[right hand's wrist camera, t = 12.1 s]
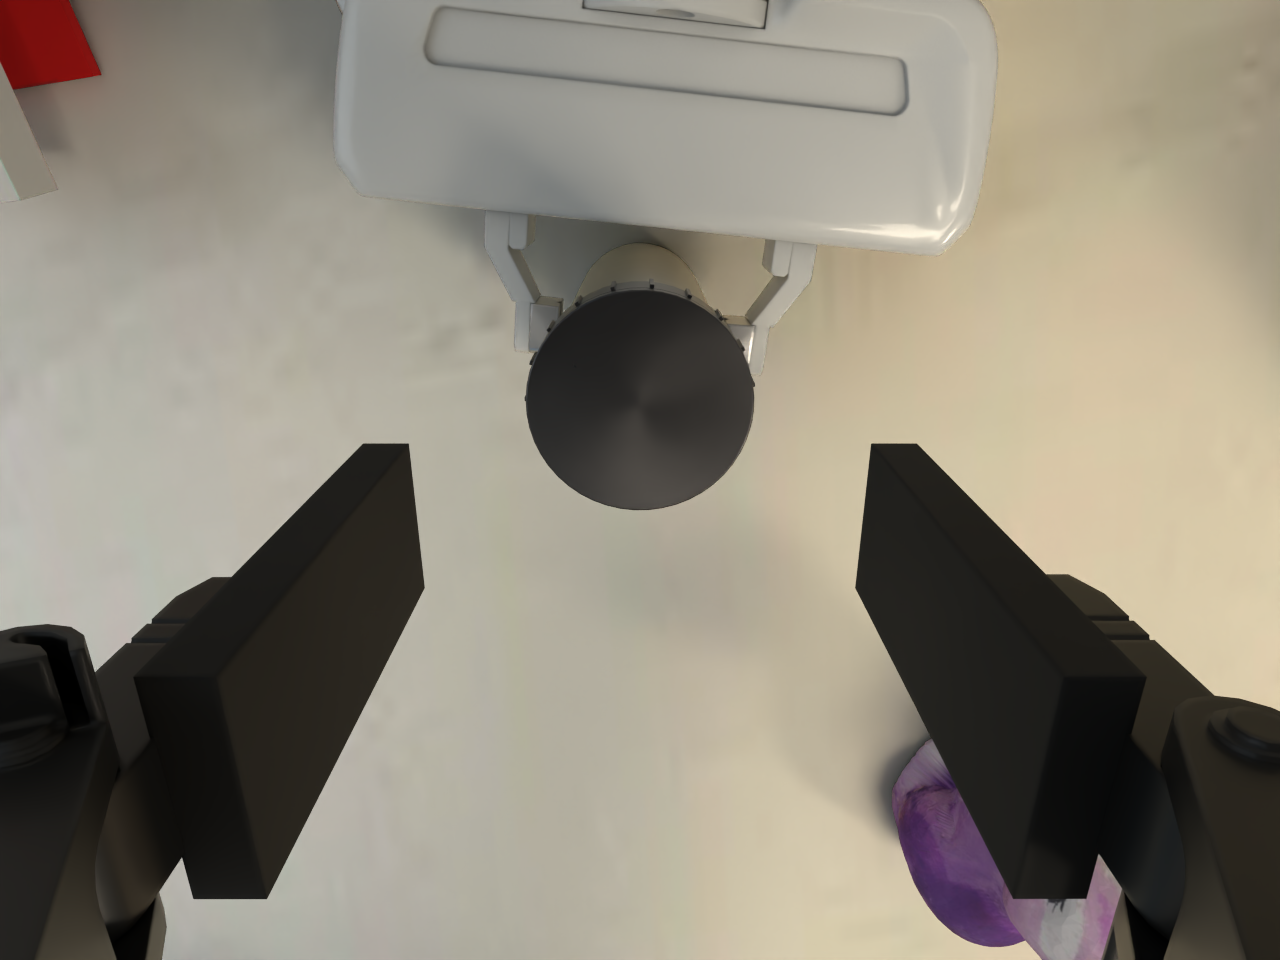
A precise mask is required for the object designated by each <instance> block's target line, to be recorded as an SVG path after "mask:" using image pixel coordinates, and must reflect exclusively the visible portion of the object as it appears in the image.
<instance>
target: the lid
mask: <svg viewBox="0 0 1280 960" xmlns="http://www.w3.org/2000/svg"><path fill="white" fill-rule="evenodd" d="M546 331H547V332H548V333H547V335H546V337H545V338H544V340H543V342H542V344H541V346H540V348H539V350H538V352H535V353H534V355H533V357H532V359H531V361H530V365H532V366H531V369H530V372H529V377H528V382H527V389H526V396H525V401H526V411H527V418H528V423H529V428H530V431H531V434H532V437H533V439H534V442H535V444H536V446H537V448H538V450H539V452H540V454H541V456H542V457H543V459H544V460H545V461H546V463H547V464H548V466H549V467H550V468H551V469H552V470H553V472H554V473H555V474H556V475H557V476H558V477H559V478H560V479H561V480H562V481H563V482H565V483H566V484H567V485H568V486H569V487H571V488H572V489H574V490H575V491H577V492H578V493H580V494H581V495H583V496H585V497H587V498H589V499H591V500H593V501H596V502H599V503H601V504H604V505H607V506H611V507H616V508H620V509H629V510H652V509H659V508H665V507H668V506H672V505H676V504H679V503H681V502H684V501H686V500H689V499H691V498H693V497H695V496H697V495H698V494H700V493H702V492H703V491H705V490H706V489H708V488H709V487H710V486H712V485H713V484H714V483H715V482H717V481H718V480H719V479H720V478H721V477H722V476H723V475H724V474H725V473H726V472H727V470H728V469H729V468H730V467H731V466H732V465H733V463H734V462H735V460H736V458H737V457H738V455H739V454H740V452H741V450H742V448H743V446H744V444H745V442H746V440H747V437H748V434H749V431H750V427H751V423H752V418H753V412H754V390H753V387H755V383H754V381H753V379H752V377H751V373H750V368H749V366H748V363H747V361H746V358H745V355H744V353H743V352H744V351H745V348H744V346H743V345H742V343H741V341H740V339H737V340H736V339H735V337H734V335H733V333H732V331H731V330H730V328H729V327H728V326H727V324H726V323H725V322H724V318H723V316H722V314H721V313H720V311H719V310H718V309H717V310H716V311H714V310H713V309H712V308H711V307H710V306H709V305H707V304H706V303H705V302H703V301H702V300H701V299H699V298H697V297H696V296H694V295H692V294H691V291H690V289H688V288H686V289H685V291H684V290H682V289H679V288H677V287H674V286H670V285H666V284H663V283H657V282H654V279H651V278H650V279H649V282H648V281H630V282H624V283H617V284H616V281H612V283H611V285H610V286H606V287H603V288H601V289H598V290H596V291H594V292H592V293H589V294H588V295H586V296H584V297H583V298H582V296H581V295H580V296H578V297H577V299H576V301H575V303H574V304H573V305H571V306H570V307H569V308H568V309H567V310H565V312H564V313H563V314H562V315H561V316H560V317H559V318H558V319H557V320H556V321H554V320H552V321H551V323H550V325H549V326H548V328H547V330H546Z"/></svg>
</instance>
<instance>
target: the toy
mask: <svg viewBox="0 0 1280 960" xmlns="http://www.w3.org/2000/svg"><path fill="white" fill-rule="evenodd" d="M98 75H101V72H100V70H99V68H98V66H97V63H96V61H95V59H94V57H93V54H92V52H91V50H90V48H89V45H88V43H87V41H86V39H85V36H84V34H83V32H82V29H81V27H80V25H79V23H78V20H77V18H76V16H75V14H74V11H73V9H72V7H71V5H70V2H69V0H0V203H5V202H12V201H19V200H24V199H27V198H30V197H34V196H37V195H41V194H44V193H48V192H51V191H55V190H58V188H57V185H56V183H55V181H54V179H53V177H52V174H51V172H50V170H49V168H48V166H47V163H46V161H45V159H44V157H43V155H42V153H41V150H40V148H39V146H38V144H37V142H36V139H35V137H34V135H33V133H32V131H31V128H30V126H29V124H28V122H27V120H26V117H25V115H24V113H23V111H22V109H21V106H20V104H19V102H18V100H17V98H16V96H15V93H14V91H13V90H14V89H21V88H27V87H33V86H39V85H45V84H51V83H57V82H63V81H69V80H75V79H81V78H87V77H93V76H98Z"/></svg>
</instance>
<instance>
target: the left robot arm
mask: <svg viewBox="0 0 1280 960" xmlns="http://www.w3.org/2000/svg"><path fill="white" fill-rule="evenodd" d="M335 1H336V3H337V6H338V8H339V10H340V12H341V14H342V16H343V17H342V23H341V31H340V39H339V47H338V57H337V67H336V79H335V96H334V121H333V149H334V158H335V161H336V163H337V165H338V167H339V169H340V170H341V171H342V173H343V174H344V176H345V177H346V178H347V180H348V181H349V182H350V184H351V185H352V187H353V188H354V189H355V190H356V192H357V193H358V194H360V195H362V196H364V197H371V198H380V199H389V200H399V201H408V202H418V203H427V204H437V205H446V206H456V207H465V208H475V209H484V210H485V238H484V247H485V249H486V251H487V253H488V255H489V257H490V259H491V261H492V263H493V264H494V266H495V268H496V270H497V272H498V274H499V276H500V278H501V280H502V282H503V284H504V286H505V288H506V290H507V292H508V294H509V296H510V298H511V299H512V301H516V313H515V337H514V347H515V351H517V352H524V353H529V352H530V353H535V352H538V350H539V348H540V346H541V344H542V342H543V340H544V338H545V337H546V335H547V333H548V332H547V331H546V330H547V328H548V326H549V325H550V323H551V321H552V320H554V321H556V320H557V319H558V318H559V317H560V316H561V315H562V314H563V298H555V297H547V296H540V295H541V293H540V291H539V289H538V287H537V285H536V283H535V281H534V278H533V276H532V274H531V272H530V270H529V268H528V266H527V263H526V261H525V259H524V257H523V255H522V253H521V251H520V250H523V249H525V248H526V247H527V246H529V245H530V244H531V243H533V242H534V238H535V222H536V215H541V216H551V217H560V218H570V219H579V220H589V221H598V222H608V223H617V224H627V225H636V226H646V227H655V228H665V229H674V230H684V231H693V232H703V233H712V234H722V235H731V236H741V237H750V238H760V239H766V240H765V247H764V254H763V262H762V265H763V267H764V268H765V269H766V270H767V271H769V272H770V273H771V274H772V275H773V276H774V277H773V278H772V279H771V281H770V282H769V283H768V285H767V286H766V287H765V289H764V290H763V291H762V293H761V294H760V295H759V297H758V298H757V300H756V301H755V302H754V304H753V305H752V306H751V308H750V309H749V310H748V312H747V313H746V314H745V316H746V317H745V316H732V315H723V318H724V322H725V323H726V324H727V326H728V327H729V328H730V330H731V331H732V333H733V335H734V337H735V339H736V340H737V339H740V341H741V343H742V345H743V346H744V348H745V351H744V352H743V353H744V355H745V358H746V361H747V363H748V366H749V368H750V373H751V375H757V376H760V375H761V373H762V370H763V366H764V360H765V354H766V348H767V341H768V335H769V329H770V327H774V326H775V325H776V324H777V322H778V321H779V320H780V319H781V317H782V316H783V315H784V314H785V312H786V311H787V310H788V309H789V307H790V306H791V305H792V304H793V302H794V301H795V300H796V299H797V298H798V296H799V295H800V294H801V293H802V291H803V290H804V289H805V288H806V286H807V285H808V284H809V283H810V281H811V278H812V272H813V267H814V261H815V255H816V250H817V245H826V246H836V247H845V248H855V249H864V250H874V251H883V252H893V253H902V254H912V255H922V256H932V257H935V256H939V255H941V254H943V253H944V252H945V251H946V250H947V249H949V248H950V247H951V246H952V245H953V244H954V243H955V242H956V241H957V240H958V239H959V238H960V237H961V236H962V235H963V234H964V233H965V232H966V231H967V230H968V228H969V226H970V225H971V222H972V220H973V217H974V214H975V210H976V206H977V203H978V199H979V194H980V190H981V185H982V180H983V175H984V170H985V165H986V160H987V154H988V148H989V142H990V135H991V128H992V121H993V114H994V105H995V95H996V85H997V75H998V46H997V38H996V33H995V29H994V25H993V22H992V20H991V17H990V15H989V13H988V12H987V10H986V8H985V7H984V5H983V4H982V3H981V2H980V1H979V0H335Z"/></svg>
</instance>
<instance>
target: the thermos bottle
mask: <svg viewBox="0 0 1280 960" xmlns="http://www.w3.org/2000/svg"><path fill="white" fill-rule="evenodd" d="M650 278H651V279H654V282H657V283H663V284H666V285H670V286H674V287H677V288H679V289H682V290H684V291H685V289H686V288H688V289H690V291H691V294H692V295H694V296H696V297H697V298H699V299H701V300H702V301H703V302H705V303H706V304H707V305H708V303H707V301H706V299H705V297H704V295H703V293H702V291H701V289H700V287H699V285H698V283H697V281H696V278H695V277H694V275H693V273H692V271H691V270H690V269H689V267H688V266H687V265H686V264H685V262H684V261H683V260H682V259H681V258H679V257H678V256H677V255H675V254H674V253H672V252H671V251H669V250H667V249H665V248H663V247H660V246H657V245H653V244H646V243H633V244H627V245H623V246H620V247H617V248H615V249H613V250H611V251H609V252H608V253H606V254H604V255H603V256H602V257H601V258H600V259H598V260H597V261H596V263H595V264H594V265H593V266H592V267H591V269H590V270H589V271H588V273H587V275H586V277H585V279H584V281H583V283H582V285H581V287H580V289H579V291H578V293H577V295H576V297H575V299H574V301H573V303H572V305H573V304H574V303H575V301H576V299H577V297H578V296H580V295H581V296H582V298H583V297H584V296H586V295H588V294H589V293H592V292H594V291H596V290H598V289H601V288H603V287H606V286H610V285H611V283H612V281H616V284H617V283H624V282H630V281H648V282H649V279H650Z"/></svg>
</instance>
